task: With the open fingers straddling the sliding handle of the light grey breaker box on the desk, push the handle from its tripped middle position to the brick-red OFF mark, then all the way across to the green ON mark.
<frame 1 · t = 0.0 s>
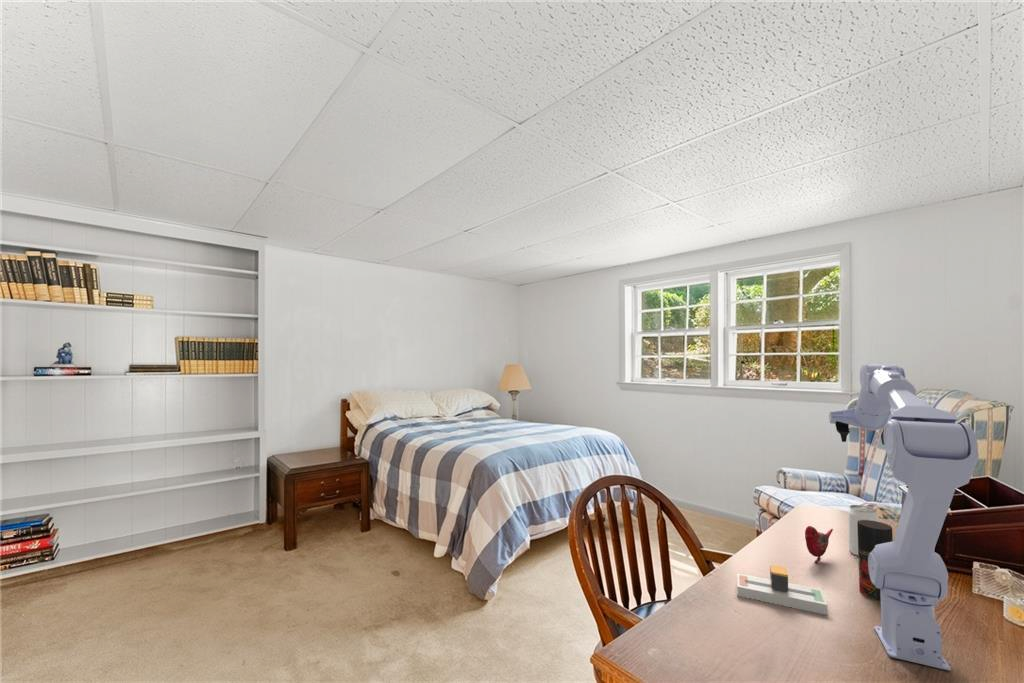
hand: (862, 439, 106), 32 cm above the table, tool tilted 50°, fingers open, 7 cm apart
can: (864, 555, 118), on the table
breaker box: (779, 597, 96), on the table
decorative bird figurine: (820, 561, 114), on the table
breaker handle: (778, 577, 96), point 4 cm above the table, slide at 0.0 cm
deodorant: (876, 596, 97), on the table
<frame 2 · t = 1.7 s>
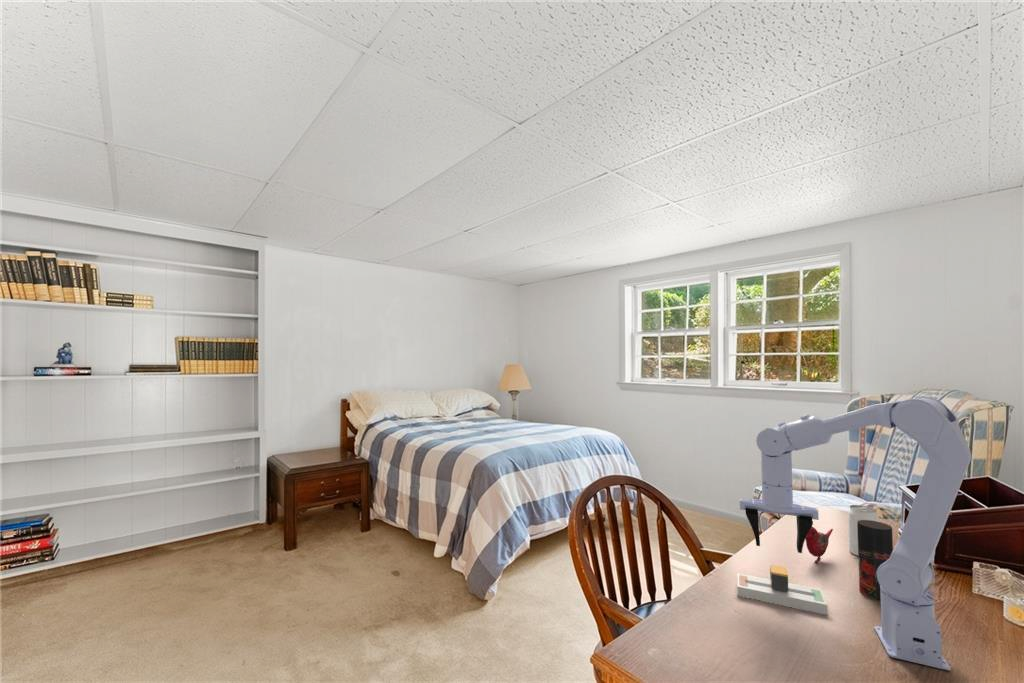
hand: (778, 547, 96), 10 cm above the table, tool pointing down, fingers open, 7 cm apart
nothing on the table moved.
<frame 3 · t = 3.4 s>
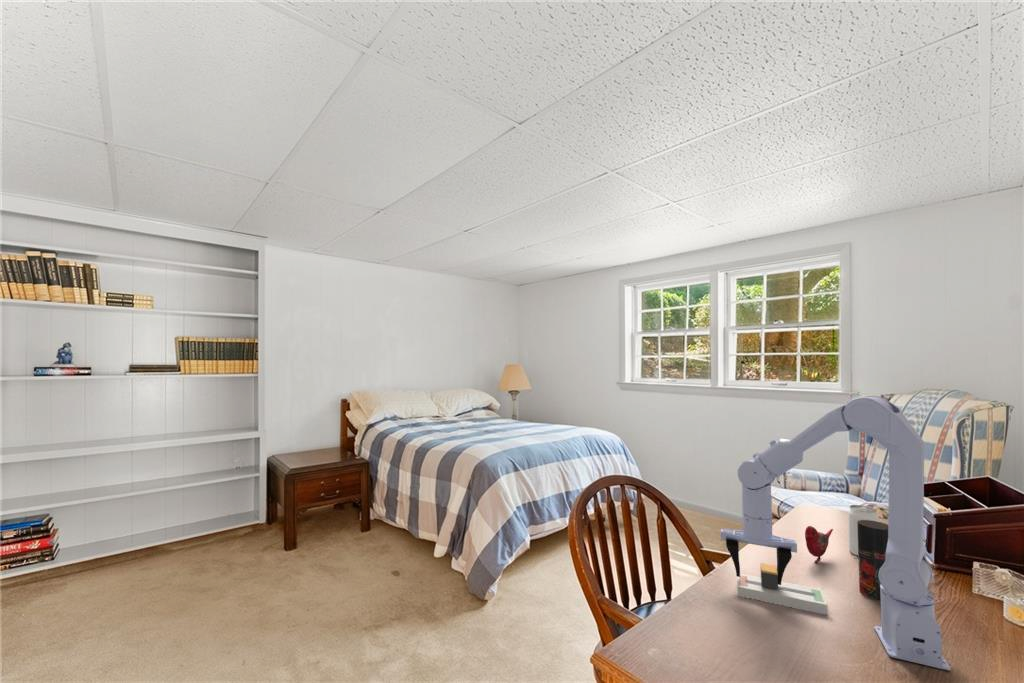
hand: (758, 578, 98), 3 cm above the table, tool pointing down, fingers open, 7 cm apart
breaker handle: (768, 575, 97), point 4 cm above the table, slide at 1.9 cm, touching gripper
everything else where it was.
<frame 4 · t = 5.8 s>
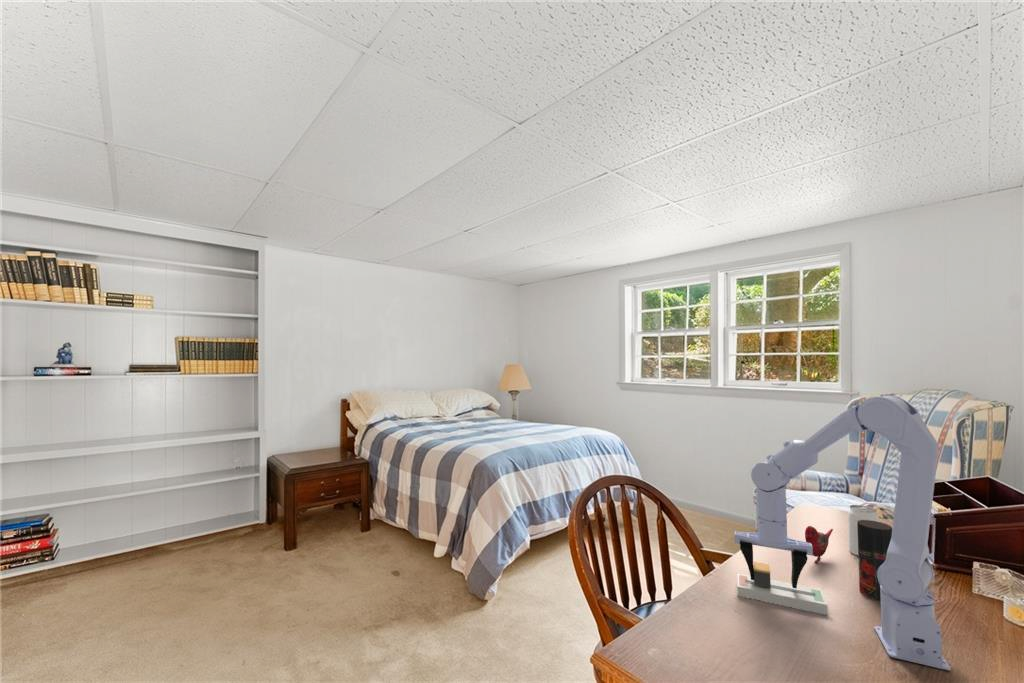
hand: (772, 582, 97), 3 cm above the table, tool pointing down, fingers open, 7 cm apart
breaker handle: (761, 574, 98), point 4 cm above the table, slide at 3.2 cm, touching gripper
everything else where it was.
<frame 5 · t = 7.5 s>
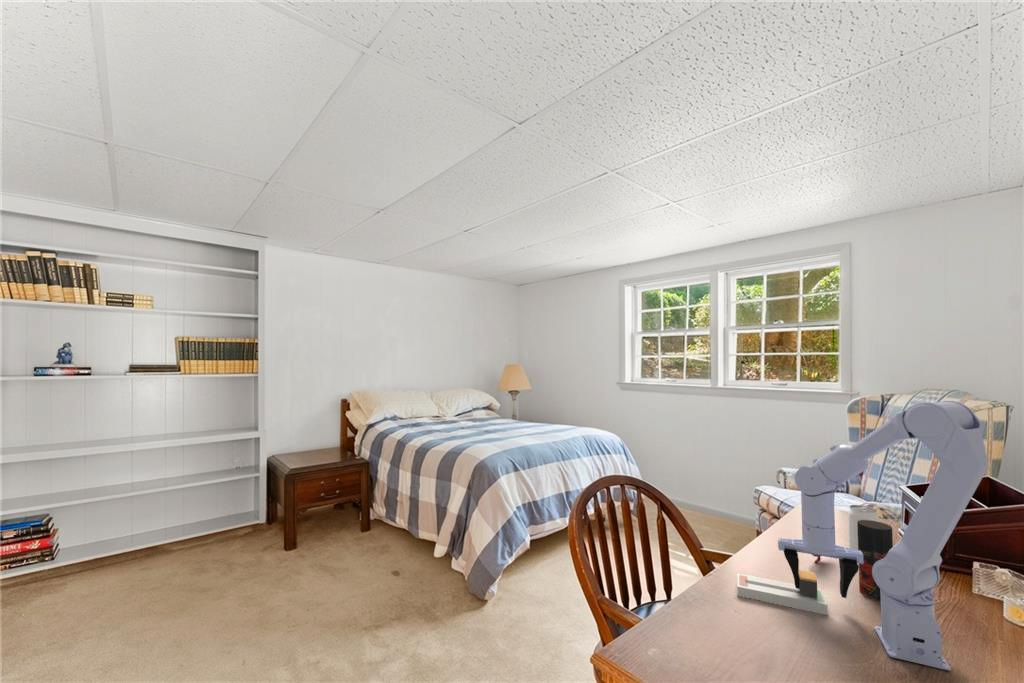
hand: (819, 591, 93), 3 cm above the table, tool pointing down, fingers open, 7 cm apart
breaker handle: (807, 583, 94), point 4 cm above the table, slide at -5.1 cm, touching gripper
everything else where it was.
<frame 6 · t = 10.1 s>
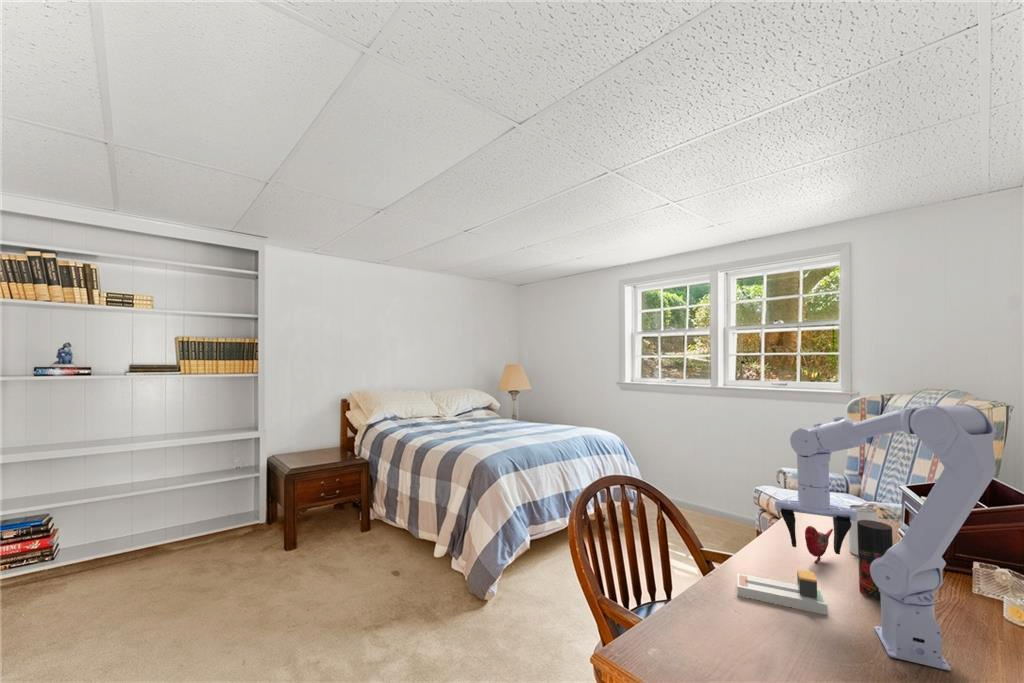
hand: (815, 548, 96), 10 cm above the table, tool pointing down, fingers open, 7 cm apart
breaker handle: (806, 583, 94), point 4 cm above the table, slide at -5.1 cm
everything else where it was.
at the end: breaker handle slide at -5.1 cm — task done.
